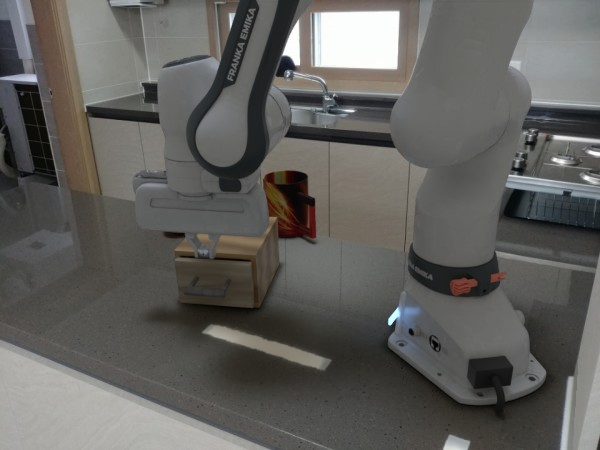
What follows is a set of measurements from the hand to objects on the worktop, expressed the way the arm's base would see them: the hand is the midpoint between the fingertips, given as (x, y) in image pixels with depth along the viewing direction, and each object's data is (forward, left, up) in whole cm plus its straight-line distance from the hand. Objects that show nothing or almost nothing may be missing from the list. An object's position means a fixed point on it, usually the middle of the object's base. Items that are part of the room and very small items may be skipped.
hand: (205, 257), depth 83 cm
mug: (+26, -24, -11) cm, 37 cm away
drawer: (+5, -3, -10) cm, 11 cm away
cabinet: (+9, -6, -11) cm, 15 cm away
